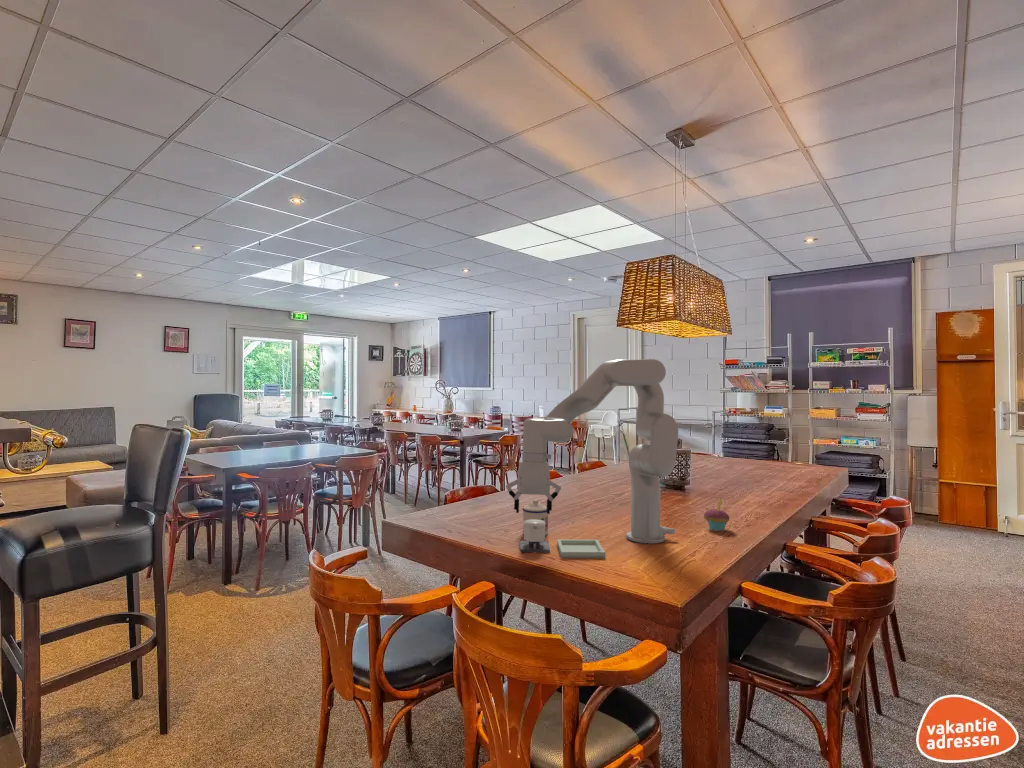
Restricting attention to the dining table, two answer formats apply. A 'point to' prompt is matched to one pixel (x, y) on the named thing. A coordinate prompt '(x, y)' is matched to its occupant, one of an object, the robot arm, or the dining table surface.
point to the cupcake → (717, 518)
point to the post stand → (534, 546)
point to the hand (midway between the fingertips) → (532, 512)
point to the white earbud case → (534, 530)
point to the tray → (580, 548)
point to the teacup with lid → (536, 513)
